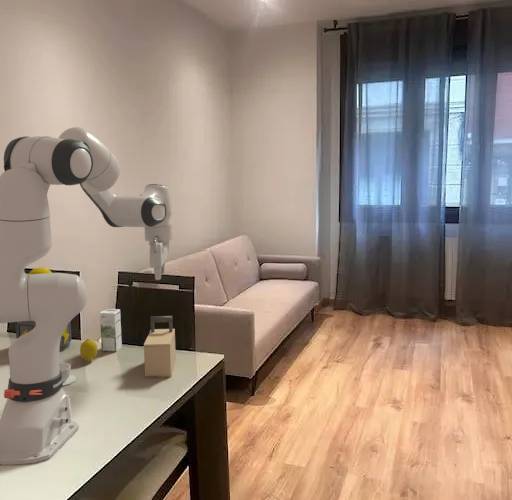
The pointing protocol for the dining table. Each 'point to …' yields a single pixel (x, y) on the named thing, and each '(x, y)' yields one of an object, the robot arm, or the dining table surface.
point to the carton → (159, 360)
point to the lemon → (88, 350)
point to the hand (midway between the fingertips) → (159, 276)
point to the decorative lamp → (27, 326)
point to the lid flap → (160, 332)
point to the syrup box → (110, 330)
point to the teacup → (66, 373)
